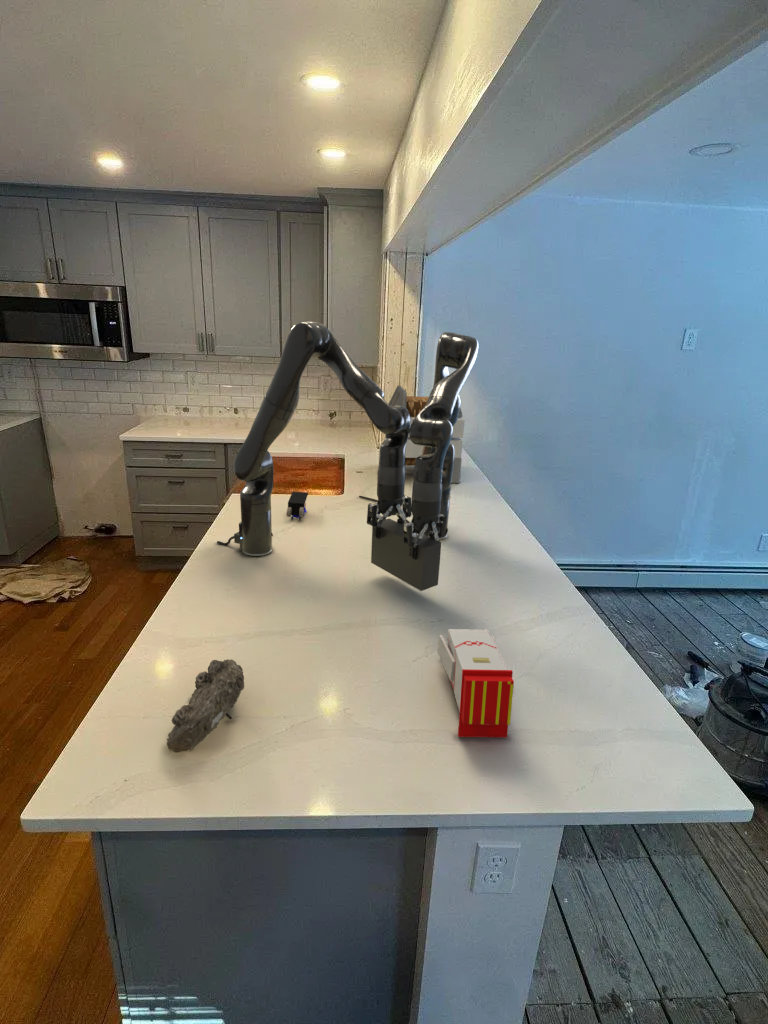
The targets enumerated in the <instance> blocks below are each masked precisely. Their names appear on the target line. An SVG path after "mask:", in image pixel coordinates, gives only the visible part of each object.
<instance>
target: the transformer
mask: <svg viewBox="0 0 768 1024" xmlns="http://www.w3.org/2000/svg"><path fill="white" fill-rule="evenodd" d="M407 394H408V393H407V390H406V389H404V388H403V387H402V385H399V384H398V385H397V386H396V388H395V390H394V392H393V394H392V395H391V398H390V400H389V402H387V403H388V404H389V405H390V406H391V407H392V406H396V405H400V406H403V407H405V408H406V409H407V410H408V412H409V414H410V418H411V424H412V422H413V420H414V418H415V417H416V416H417V415H418V414H419V413H420V411H421V410H422V409H423V408H424V407H425V405H426V404H427V401H428V398H429V396H415V395H414V396H413V395H412V396H411V395H407ZM464 429H465V419H464V418H463V411H462V408H461V407H460V411H459V416H458V420H457V422H456V423H455V425H454V426H453V436H452V439H451V442H450V444H452V445H453V446H454V449H455V458H454V466H453V472H452V482H451V484H455V483H456V484H459V483H461V472H462V461H463V460H462V453H463V442H464V441H463V440H462V439H463V438H464V431H465V430H464ZM422 450H423V446H418V445H415V444H414V443H412V441H411V440H410V437H409V436H408V441H407V444H406V448H405V466H406V467H407V466H411V467H412V466H413V467H415V460H416V458H417V457H418V456H420V455H422Z"/></svg>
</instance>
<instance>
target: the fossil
mask: <svg viewBox="0 0 768 1024" xmlns="http://www.w3.org/2000/svg"><path fill="white" fill-rule="evenodd" d="M243 670H244V669H243V667H242V665H240V664H237V662H236V661H235V660H234V659H232V658H231V659H227V658H226V659H224V660H223V661H222V660H217V659H212V660H211V661H210V663H209V665H208V666H207V671H201V672H199V673H198V674H197V675H196V676H195V680H194V684H195V685H194V687H195V689H194V690H193V693H192V694H191V697H190V698H189V700H188V704H184V705H182V706H181V707H180V709H177V710H176V711H175V713H174V715H173V716H172V718H171V723H172V724H173V727H172V730H171V731H170V732H168V734H167V738H166V741H167V742H166V745H167V749H168V750H169V751H173V752H174V753H176V754H178V753H182V752H188V751H189V752H192V751H193V750H195V748H196V747H197V746H199V744H200V743H201V742H203V741H204V740H205V739H206V738H207V737H208V736H209V735H210V734H211V733H212V732H214V730H215V729H217V727H218V726H219V724H220V722H221V721H222V720H223V719H224V718H225V716H226V717H227V719H229V720H233V717H232V715H230V714H229V710H230V709H231V708H234V706H235V704H236V703H237V702H238V699H239V697H240V695H241V693H242V691H243V690H245V689H244V688H245V675H244V671H243Z"/></svg>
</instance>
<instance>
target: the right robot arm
mask: <svg viewBox="0 0 768 1024" xmlns="http://www.w3.org/2000/svg"><path fill="white" fill-rule="evenodd" d="M435 351H436V352H435V362H434V363H435V364H434V365H435V366H434V376H433V377H434V379H433V385H432V388H431V391H430V393H429V396H428V397H429V398H428V401H427V404H426V405H425V407H424V408H423V409H422V410H421V411H420V413H419V414H418V415H417V416H416V417H415V418H414V420H413V422H412V424H411V426H410V429H409V437H410V440H411V441H412V443H414V444H415V445H418V446H423V450H422V455H420V456H418V457H417V458H416V460H415V466H414V470H413V471H414V474H413V482H412V489H411V516H412V518H411V520H410V521H409V520H408V519H406V520H405V523H403V524H402V535H403V544H405V545H407V546H409V557H410V559H412V560H416V559H417V549H418V547H417V545H418V543H419V541H420V540H421V539H422V537H423V535H426V536H428V537H431V538H433V539H435V540H437V541H439V542H441V541H444V540H446V539H447V538H448V533H449V528H448V525H449V517H450V516H449V514H450V504H451V494H452V493H451V491H452V483H451V482H452V472H453V466H454V458H455V449H454V446H453V445H452V444H450V442H451V439H452V436H453V426H454V425H455V423H456V422H457V420H458V416H459V411H460V408H461V405H462V400H461V397H460V393H461V392H462V389H463V387H464V386H465V383H466V382H467V380H468V378H469V376H470V374H471V372H472V370H473V367H474V366H475V363H476V360H477V357H478V353H479V341H478V339H477V338H476V337H473V336H470V335H465V334H460V333H456V332H451V331H445V332H443V333H442V334H441V335H440V336H439V338H438V341H437V344H436V350H435ZM449 369H455V370H454V371H453V372H451V373H449ZM358 498H361V499H365V500H369V501H373V502H376V503H377V502H378V499H375V498H372V497H368V496H363V495H358ZM415 532H416V533H418V534H419V535H416V534H415ZM414 538H415V541H414V542H413V540H414ZM407 539H408V540H407Z"/></svg>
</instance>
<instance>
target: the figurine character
mask: <svg viewBox="0 0 768 1024" xmlns="http://www.w3.org/2000/svg"><path fill="white" fill-rule="evenodd" d="M308 495H309V492H305V491H304V492H303V491H291V494H290V497H289V499H288V501H287V507H286V517H288V518H289V517H290V521H294V518H295V519H297V518H298V522H299V521H301V520H302V518H303V517H305V514H306V513H307V512H308V510H307V508H306V507H307V503H306V502H307V498H308Z"/></svg>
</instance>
